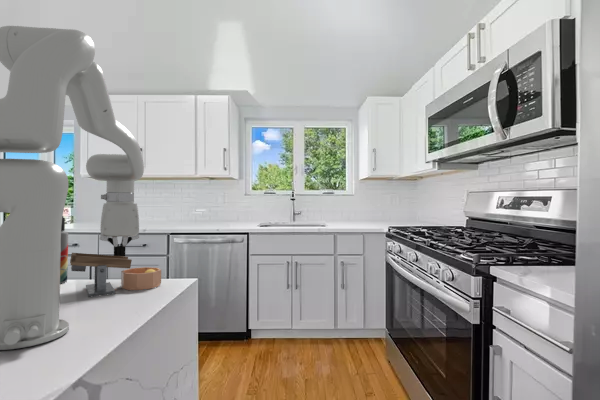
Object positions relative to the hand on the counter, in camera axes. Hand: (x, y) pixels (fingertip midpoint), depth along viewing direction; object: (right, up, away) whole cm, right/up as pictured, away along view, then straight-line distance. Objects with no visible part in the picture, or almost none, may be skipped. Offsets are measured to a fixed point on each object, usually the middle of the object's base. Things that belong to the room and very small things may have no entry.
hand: (119, 258), depth 106 cm
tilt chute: (-2, -2, -7) cm, 8 cm away
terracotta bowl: (+9, -7, -5) cm, 12 cm away
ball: (+11, -5, -3) cm, 12 cm away
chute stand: (0, -7, -11) cm, 13 cm away
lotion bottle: (-18, -7, -2) cm, 19 cm away
